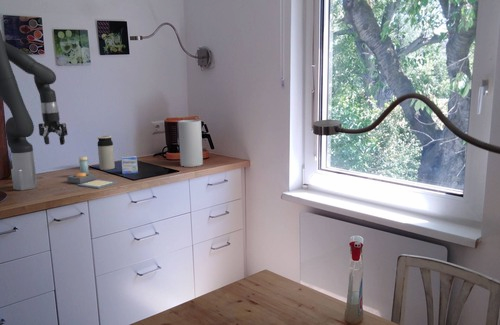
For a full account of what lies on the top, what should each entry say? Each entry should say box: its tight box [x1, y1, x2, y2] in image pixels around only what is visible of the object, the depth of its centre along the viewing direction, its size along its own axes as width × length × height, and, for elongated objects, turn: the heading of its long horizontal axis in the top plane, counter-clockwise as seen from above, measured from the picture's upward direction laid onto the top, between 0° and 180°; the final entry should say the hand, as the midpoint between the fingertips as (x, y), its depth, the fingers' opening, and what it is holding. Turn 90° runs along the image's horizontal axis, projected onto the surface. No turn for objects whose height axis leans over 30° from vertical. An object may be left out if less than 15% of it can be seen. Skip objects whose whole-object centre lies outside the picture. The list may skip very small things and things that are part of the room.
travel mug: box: [97, 135, 116, 171], centre depth 253 cm, size 8×8×18 cm
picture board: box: [77, 178, 119, 190], centre depth 218 cm, size 12×14×1 cm
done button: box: [74, 172, 86, 177], centre depth 225 cm, size 5×5×2 cm
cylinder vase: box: [177, 119, 204, 168], centre depth 257 cm, size 12×12×25 cm
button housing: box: [66, 173, 96, 185], centre depth 225 cm, size 9×9×3 cm
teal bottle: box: [78, 156, 90, 174], centre depth 236 cm, size 4×4×10 cm
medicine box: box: [120, 155, 139, 175], centre depth 242 cm, size 8×4×9 cm, turn 105°
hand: (55, 144), depth 225 cm, fingers open, 8 cm apart
